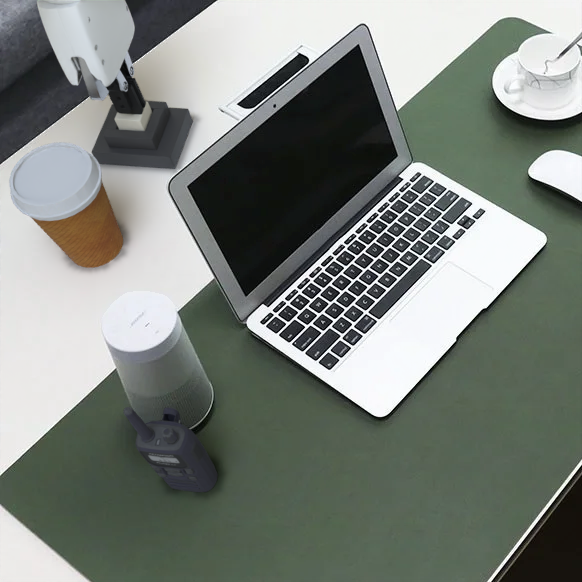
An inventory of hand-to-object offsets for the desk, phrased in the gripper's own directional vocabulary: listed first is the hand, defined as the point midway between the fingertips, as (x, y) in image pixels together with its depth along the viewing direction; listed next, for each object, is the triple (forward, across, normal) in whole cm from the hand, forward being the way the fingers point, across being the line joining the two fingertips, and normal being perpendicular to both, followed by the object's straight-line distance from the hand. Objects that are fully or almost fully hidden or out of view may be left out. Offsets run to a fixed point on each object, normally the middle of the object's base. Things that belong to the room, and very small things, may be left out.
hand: (132, 108), depth 98 cm
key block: (+5, 0, 0) cm, 5 cm away
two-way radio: (+5, +42, +18) cm, 46 cm away
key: (+2, 0, 0) cm, 2 cm away
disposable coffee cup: (+6, +16, -1) cm, 17 cm away
